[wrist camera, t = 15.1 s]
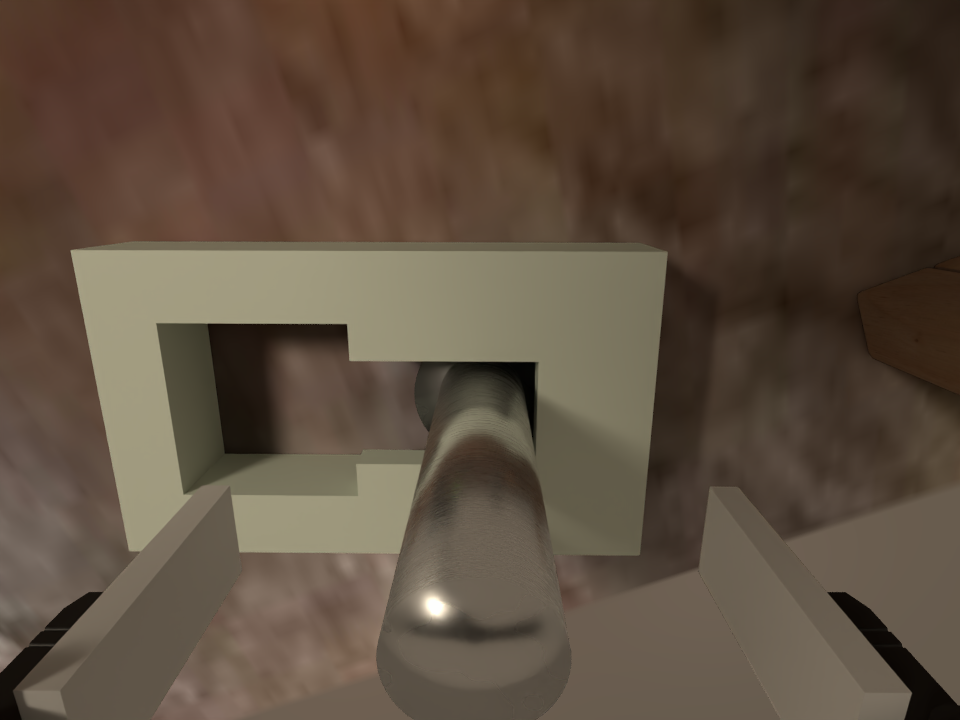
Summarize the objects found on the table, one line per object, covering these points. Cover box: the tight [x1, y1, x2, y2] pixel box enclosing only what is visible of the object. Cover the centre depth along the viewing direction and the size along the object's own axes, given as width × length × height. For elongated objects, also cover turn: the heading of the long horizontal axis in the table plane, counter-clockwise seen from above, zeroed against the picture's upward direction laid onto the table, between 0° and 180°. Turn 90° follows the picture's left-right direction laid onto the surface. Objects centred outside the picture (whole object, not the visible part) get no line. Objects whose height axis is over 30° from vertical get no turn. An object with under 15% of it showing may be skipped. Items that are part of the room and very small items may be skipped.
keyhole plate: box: [71, 242, 668, 556], centre depth 27 cm, size 24×14×4 cm, turn 90°
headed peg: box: [376, 361, 571, 720], centre depth 20 cm, size 6×6×18 cm
